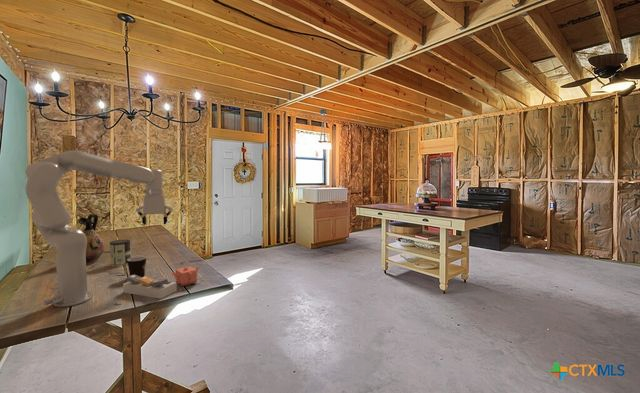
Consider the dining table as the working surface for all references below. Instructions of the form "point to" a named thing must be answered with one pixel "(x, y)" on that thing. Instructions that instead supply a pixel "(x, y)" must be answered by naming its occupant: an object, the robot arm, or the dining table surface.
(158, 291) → the power strip
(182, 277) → the teapot
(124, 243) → the coffee can
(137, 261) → the coffee mug
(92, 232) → the ceramic jug
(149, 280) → the rocker
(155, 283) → the rocker
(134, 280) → the rocker
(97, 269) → the dining table surface
